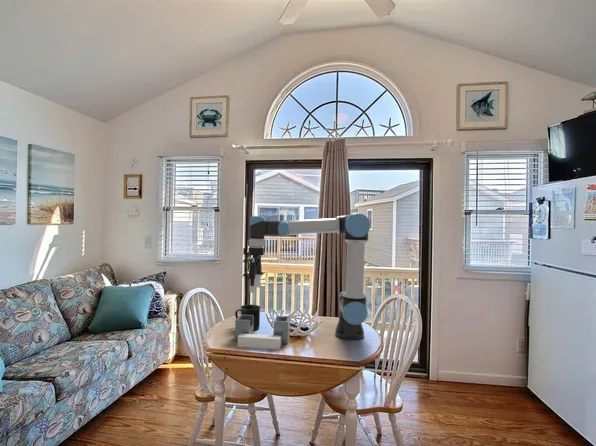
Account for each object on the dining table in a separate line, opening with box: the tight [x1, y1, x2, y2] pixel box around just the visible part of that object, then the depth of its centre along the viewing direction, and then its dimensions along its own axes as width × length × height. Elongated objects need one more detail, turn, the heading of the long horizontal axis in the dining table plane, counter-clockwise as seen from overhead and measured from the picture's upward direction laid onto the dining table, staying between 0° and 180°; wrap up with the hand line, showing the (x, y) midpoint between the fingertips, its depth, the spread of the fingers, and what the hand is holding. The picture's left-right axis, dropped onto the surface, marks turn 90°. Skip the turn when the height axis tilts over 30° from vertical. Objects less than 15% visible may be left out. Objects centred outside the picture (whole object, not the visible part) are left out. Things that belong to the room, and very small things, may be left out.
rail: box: [237, 333, 282, 350], centre depth 166 cm, size 20×5×5 cm, turn 84°
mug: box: [234, 304, 262, 332], centre depth 194 cm, size 11×15×12 cm
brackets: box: [234, 313, 291, 345], centre depth 176 cm, size 26×11×10 cm, turn 87°
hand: (255, 289), depth 174 cm, fingers open, 13 cm apart
